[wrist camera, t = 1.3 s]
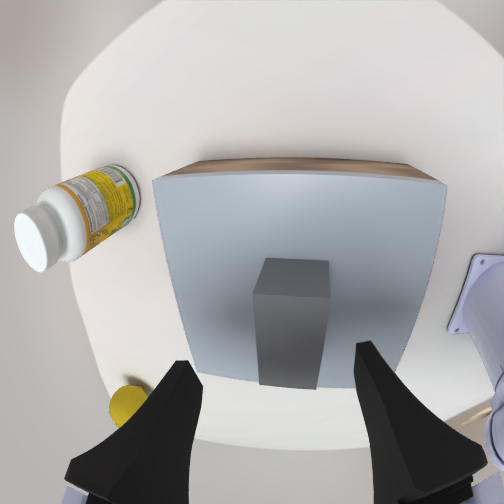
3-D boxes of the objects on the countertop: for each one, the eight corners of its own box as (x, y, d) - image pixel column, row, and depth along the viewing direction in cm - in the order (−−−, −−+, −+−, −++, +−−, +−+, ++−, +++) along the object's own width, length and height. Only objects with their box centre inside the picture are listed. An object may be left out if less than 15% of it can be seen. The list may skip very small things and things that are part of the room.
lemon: (125, 369, 33) (98, 409, 26) (158, 387, 33) (134, 431, 26) (126, 385, 36) (102, 422, 29) (156, 402, 36) (135, 441, 29)
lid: (427, 174, 12) (479, 206, 7) (383, 362, 18) (390, 422, 13) (174, 170, 15) (114, 197, 10) (207, 349, 21) (182, 402, 16)
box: (407, 164, 15) (438, 180, 10) (378, 332, 21) (385, 376, 17) (198, 161, 18) (161, 176, 13) (220, 322, 24) (201, 362, 20)
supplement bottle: (133, 157, 19) (34, 194, 10) (148, 221, 21) (66, 284, 13) (89, 171, 20) (2, 209, 12) (104, 227, 22) (28, 280, 14)
